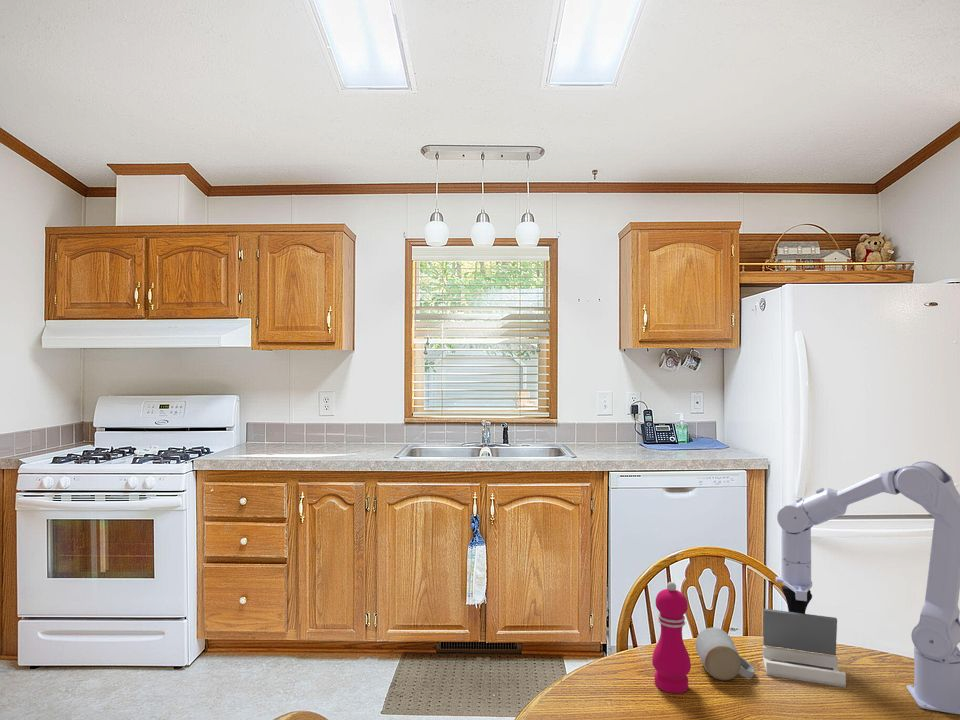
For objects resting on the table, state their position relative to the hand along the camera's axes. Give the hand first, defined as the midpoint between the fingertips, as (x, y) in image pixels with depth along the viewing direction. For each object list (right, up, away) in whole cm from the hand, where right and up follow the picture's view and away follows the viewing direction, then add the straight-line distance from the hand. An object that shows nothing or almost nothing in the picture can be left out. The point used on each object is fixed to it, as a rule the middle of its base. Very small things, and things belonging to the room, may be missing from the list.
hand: (796, 622), depth 132 cm
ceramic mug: (-19, -7, -8) cm, 21 cm away
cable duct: (-3, -7, -7) cm, 10 cm away
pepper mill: (-31, -7, -13) cm, 35 cm away
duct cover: (-2, 0, -4) cm, 5 cm away
